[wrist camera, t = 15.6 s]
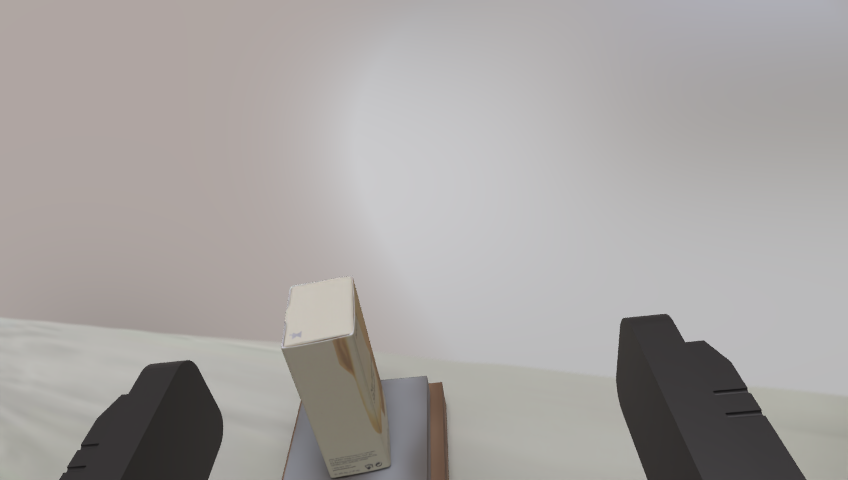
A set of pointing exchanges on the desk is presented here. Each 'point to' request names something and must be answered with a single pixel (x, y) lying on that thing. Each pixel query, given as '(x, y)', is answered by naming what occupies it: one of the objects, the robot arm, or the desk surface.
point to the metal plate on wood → (408, 429)
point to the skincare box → (337, 375)
